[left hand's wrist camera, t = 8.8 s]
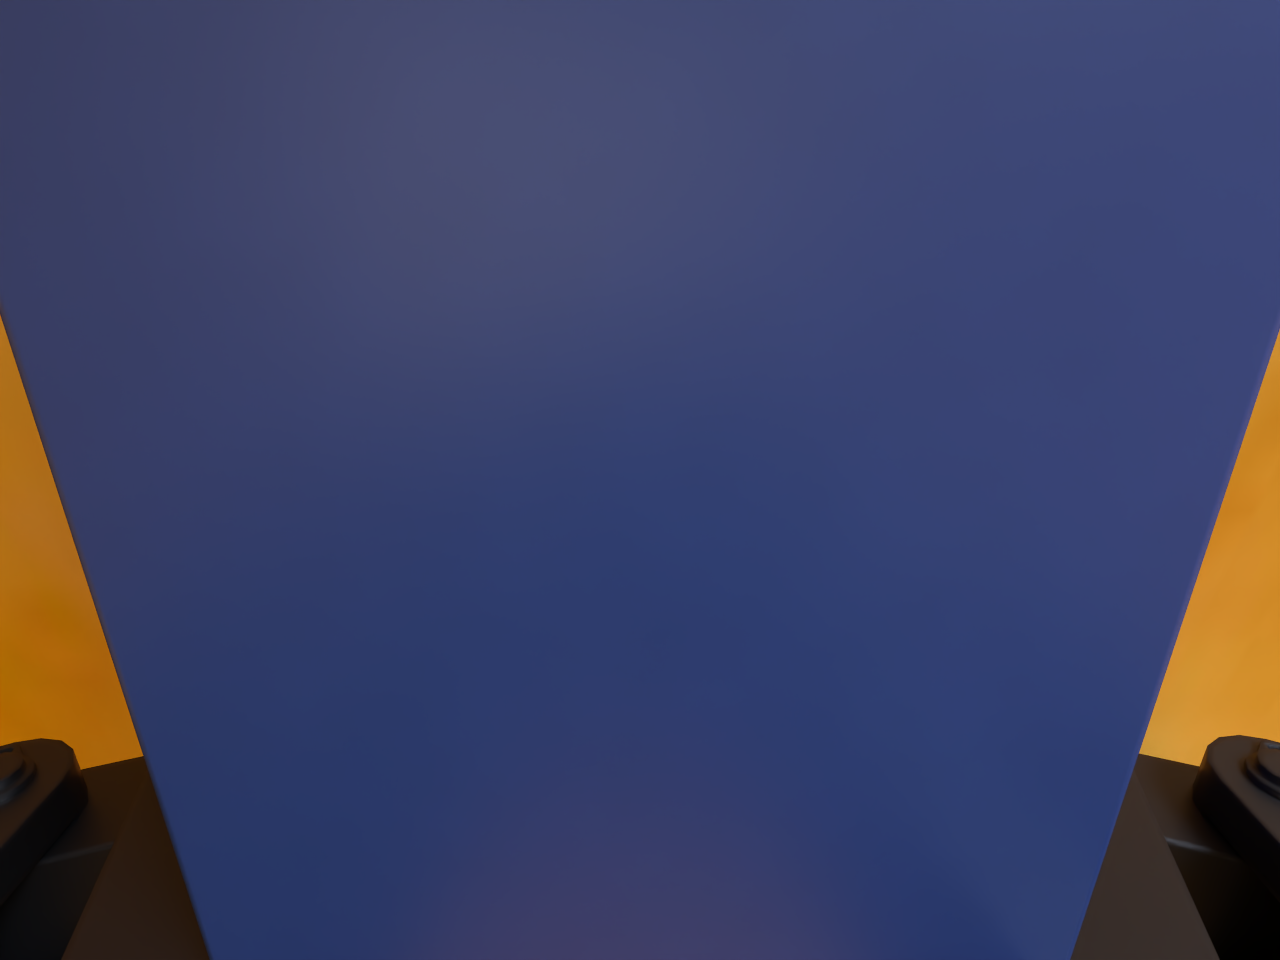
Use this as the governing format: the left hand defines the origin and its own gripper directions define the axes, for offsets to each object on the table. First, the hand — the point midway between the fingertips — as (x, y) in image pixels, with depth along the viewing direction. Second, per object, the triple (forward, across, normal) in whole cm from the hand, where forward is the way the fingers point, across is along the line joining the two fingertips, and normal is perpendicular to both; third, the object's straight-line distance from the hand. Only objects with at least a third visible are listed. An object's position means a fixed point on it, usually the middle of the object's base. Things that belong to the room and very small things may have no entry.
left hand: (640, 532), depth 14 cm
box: (+2, 0, -9) cm, 9 cm away
